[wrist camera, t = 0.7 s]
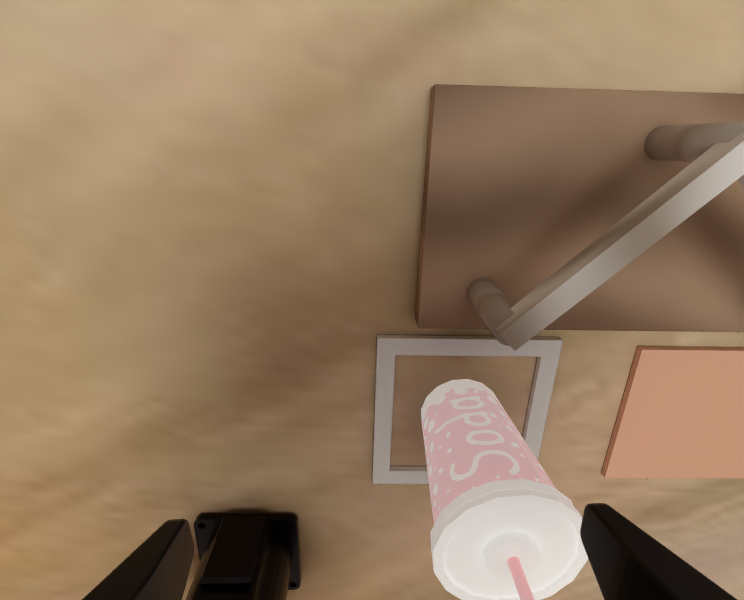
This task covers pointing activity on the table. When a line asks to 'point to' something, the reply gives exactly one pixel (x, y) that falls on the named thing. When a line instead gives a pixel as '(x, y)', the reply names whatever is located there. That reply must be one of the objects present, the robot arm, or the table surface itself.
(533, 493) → the beverage cup
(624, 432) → the end mat
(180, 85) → the table surface
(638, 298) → the wire board
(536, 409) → the frame
